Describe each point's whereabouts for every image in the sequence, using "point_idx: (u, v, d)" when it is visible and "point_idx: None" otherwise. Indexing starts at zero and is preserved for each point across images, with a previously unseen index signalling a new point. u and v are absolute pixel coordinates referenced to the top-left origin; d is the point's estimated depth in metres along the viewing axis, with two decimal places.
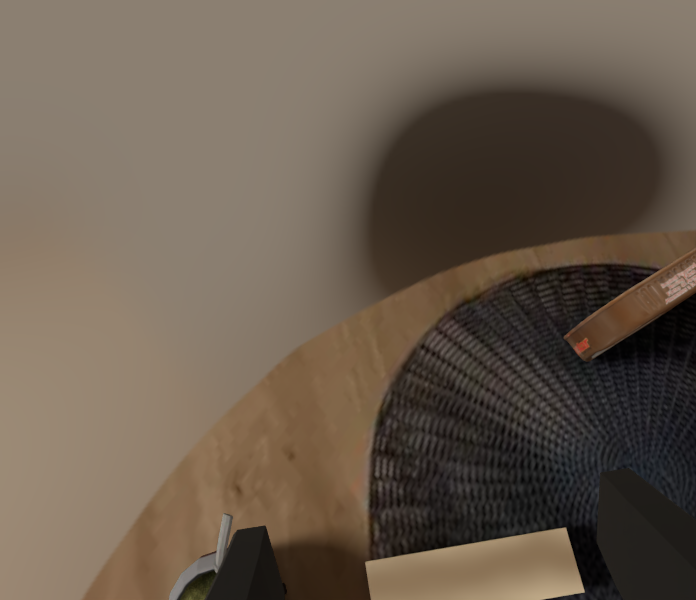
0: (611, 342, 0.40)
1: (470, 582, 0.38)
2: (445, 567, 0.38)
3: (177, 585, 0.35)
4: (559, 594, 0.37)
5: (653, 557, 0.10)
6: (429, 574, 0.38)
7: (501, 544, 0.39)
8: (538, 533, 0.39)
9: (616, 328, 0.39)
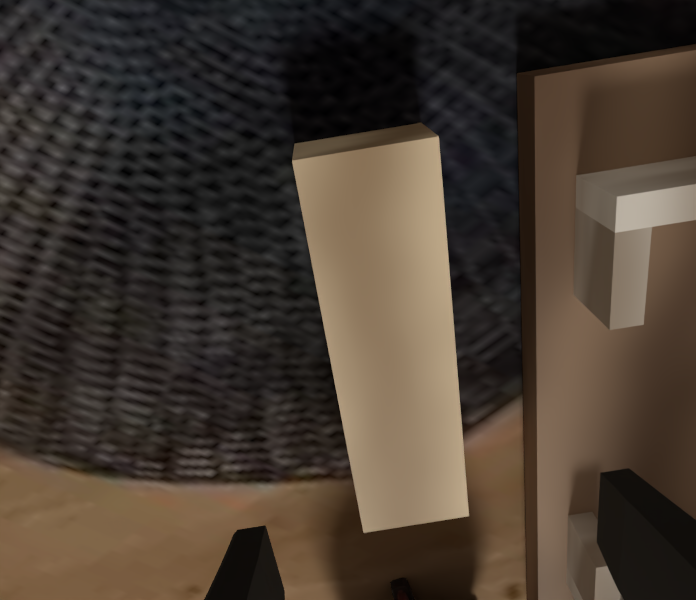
0: None
1: (405, 371, 0.18)
2: (375, 411, 0.19)
3: None
4: (439, 196, 0.16)
5: (653, 557, 0.10)
6: (388, 438, 0.19)
7: (332, 308, 0.17)
8: (307, 227, 0.16)
9: None
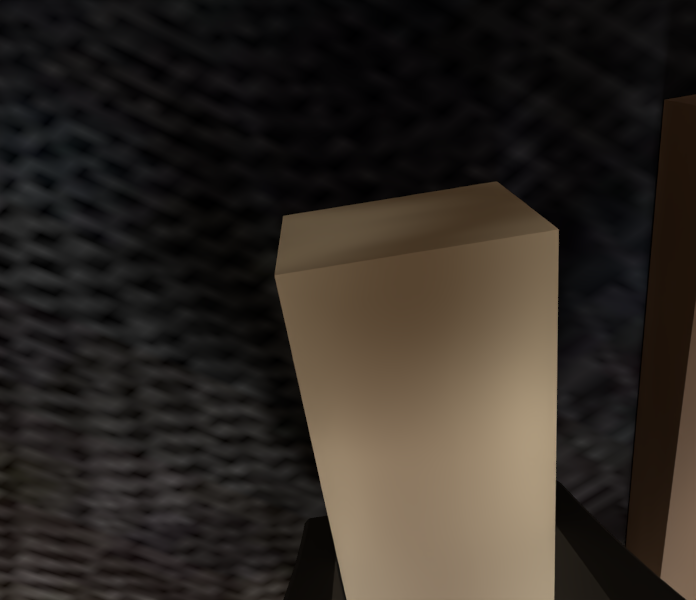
0: None
1: (469, 596, 0.11)
2: None
3: None
4: (549, 333, 0.09)
5: (568, 570, 0.10)
6: None
7: (348, 512, 0.10)
8: (304, 388, 0.09)
9: None
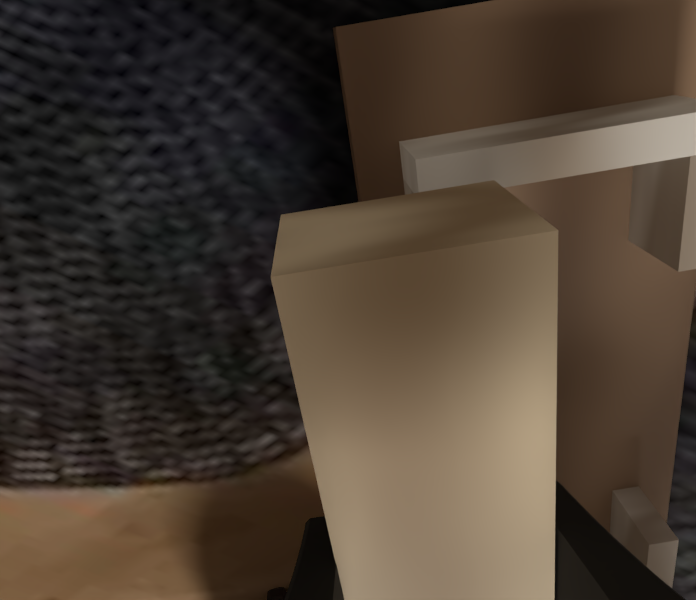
0: None
1: None
2: None
3: None
4: (549, 335, 0.08)
5: (567, 570, 0.10)
6: None
7: (346, 515, 0.10)
8: (301, 390, 0.09)
9: None
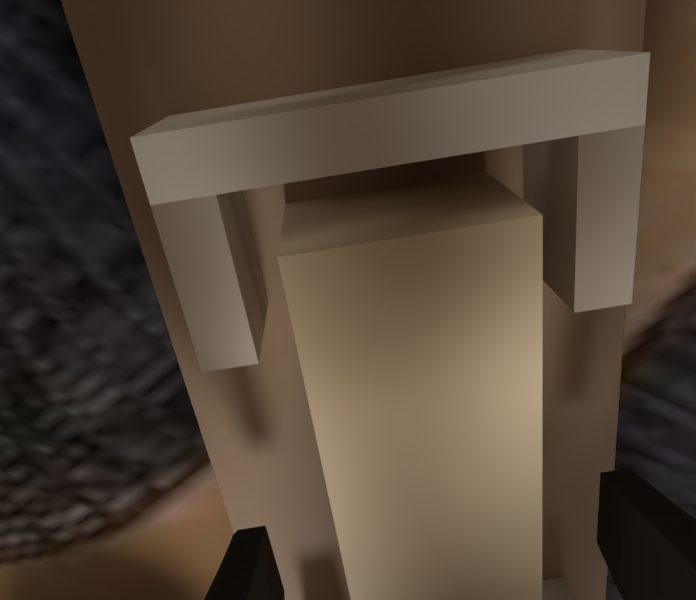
0: None
1: (461, 567, 0.12)
2: None
3: None
4: (535, 313, 0.09)
5: (652, 557, 0.10)
6: None
7: (346, 484, 0.10)
8: (304, 364, 0.09)
9: None
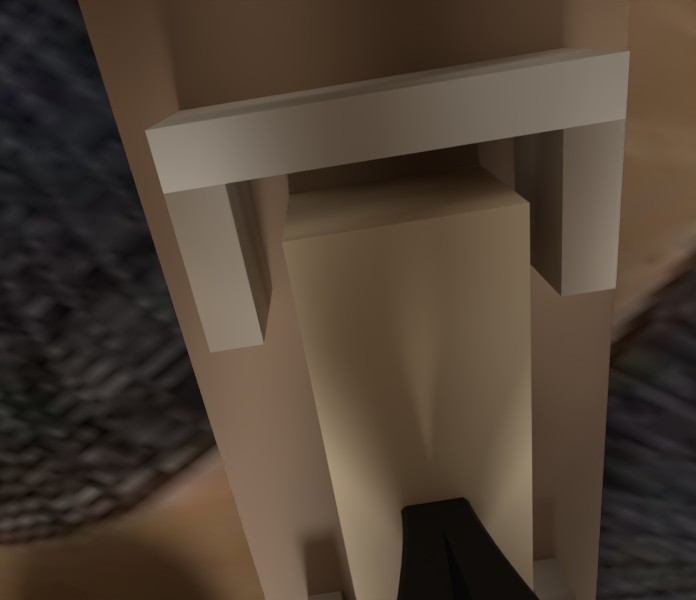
0: None
1: None
2: None
3: None
4: (523, 296, 0.10)
5: (459, 587, 0.10)
6: None
7: (345, 458, 0.11)
8: (307, 344, 0.10)
9: None
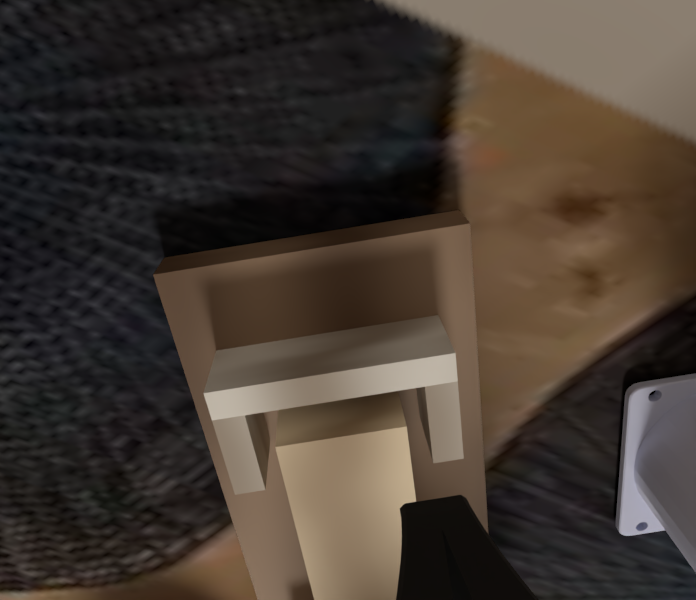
0: None
1: (380, 596, 0.20)
2: None
3: None
4: (408, 469, 0.18)
5: (458, 587, 0.10)
6: None
7: (313, 552, 0.19)
8: (289, 494, 0.18)
9: None
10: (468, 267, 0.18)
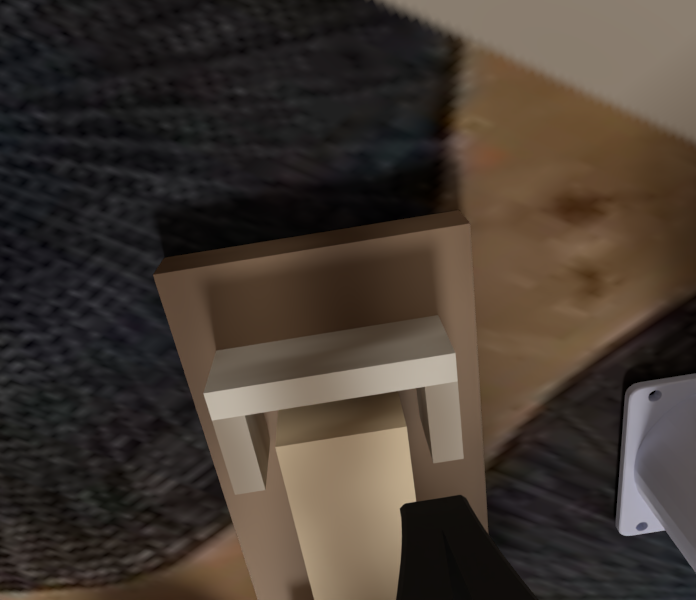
0: None
1: (380, 596, 0.20)
2: None
3: None
4: (408, 469, 0.18)
5: (458, 588, 0.10)
6: None
7: (313, 552, 0.19)
8: (289, 494, 0.18)
9: None
10: (468, 267, 0.18)
